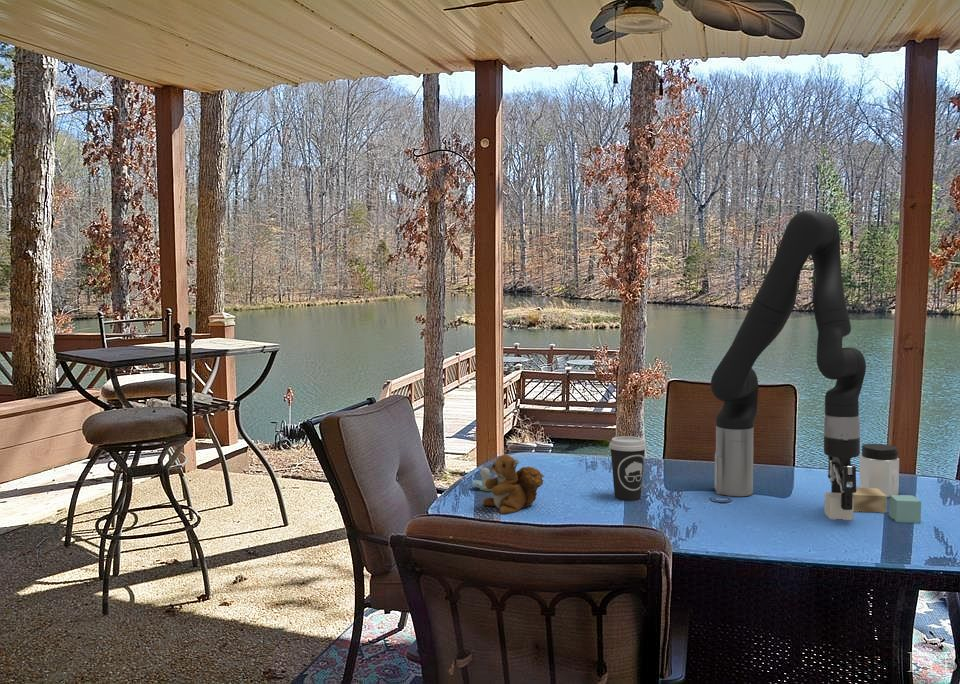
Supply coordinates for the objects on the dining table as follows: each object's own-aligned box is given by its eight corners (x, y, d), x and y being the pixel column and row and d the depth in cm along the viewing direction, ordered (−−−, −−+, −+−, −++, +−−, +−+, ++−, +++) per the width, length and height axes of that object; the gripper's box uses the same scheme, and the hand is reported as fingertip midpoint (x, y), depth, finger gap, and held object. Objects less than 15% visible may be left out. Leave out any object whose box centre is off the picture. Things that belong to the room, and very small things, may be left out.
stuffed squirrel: (479, 505, 191) (478, 452, 190) (531, 498, 196) (530, 447, 195) (494, 516, 182) (494, 461, 181) (548, 509, 187) (548, 455, 186)
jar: (884, 499, 191) (886, 451, 190) (853, 492, 198) (854, 446, 197) (904, 493, 196) (905, 447, 195) (872, 487, 203) (873, 442, 202)
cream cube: (829, 519, 176) (830, 498, 175) (824, 513, 181) (824, 492, 180) (853, 520, 175) (853, 498, 174) (847, 514, 180) (847, 493, 179)
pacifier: (480, 486, 210) (470, 490, 205) (480, 463, 210) (470, 467, 205) (504, 488, 207) (494, 493, 202) (504, 465, 207) (495, 469, 202)
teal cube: (896, 522, 173) (896, 500, 173) (889, 516, 178) (889, 494, 178) (920, 523, 172) (921, 501, 172) (912, 517, 177) (913, 495, 177)
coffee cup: (650, 494, 198) (650, 437, 197) (641, 504, 190) (642, 444, 189) (614, 490, 202) (614, 434, 201) (604, 500, 194) (604, 441, 193)
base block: (854, 511, 181) (854, 494, 181) (846, 503, 188) (846, 487, 188) (886, 512, 180) (886, 496, 180) (877, 504, 187) (877, 488, 186)
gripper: (816, 429, 184) (816, 496, 185) (832, 440, 170) (832, 512, 171) (850, 429, 183) (850, 496, 184) (868, 440, 169) (868, 513, 170)
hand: (841, 504), depth 177 cm, fingers open, 8 cm apart
